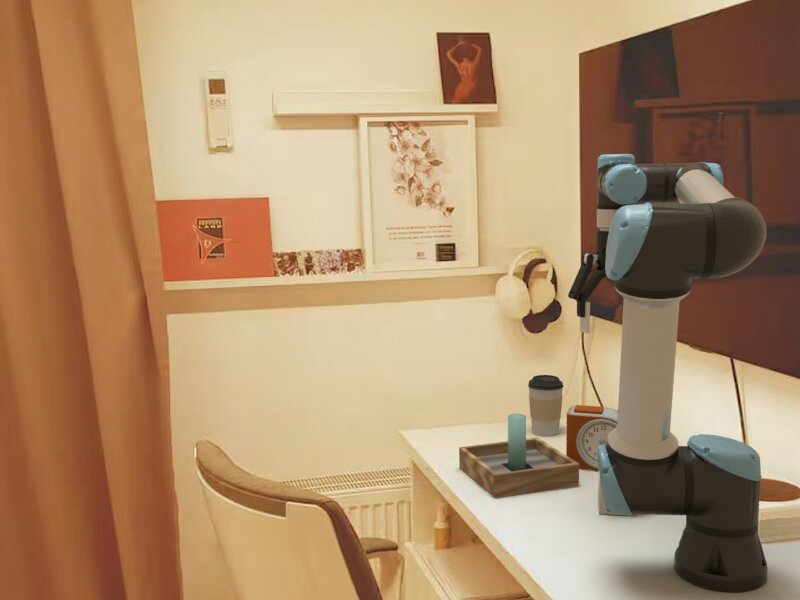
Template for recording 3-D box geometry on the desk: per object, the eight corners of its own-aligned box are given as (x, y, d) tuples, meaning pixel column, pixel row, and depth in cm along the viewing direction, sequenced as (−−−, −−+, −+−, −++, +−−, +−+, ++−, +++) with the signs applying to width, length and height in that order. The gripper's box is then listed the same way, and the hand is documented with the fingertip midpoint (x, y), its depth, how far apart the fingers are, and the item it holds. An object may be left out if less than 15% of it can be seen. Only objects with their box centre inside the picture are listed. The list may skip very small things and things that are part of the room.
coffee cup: (543, 425, 242) (544, 370, 240) (570, 432, 235) (570, 376, 233) (520, 432, 237) (520, 376, 234) (547, 440, 230) (547, 382, 227)
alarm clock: (564, 468, 209) (565, 411, 207) (570, 456, 217) (570, 401, 215) (630, 474, 204) (632, 416, 202) (633, 462, 212) (635, 406, 210)
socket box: (579, 485, 198) (579, 463, 197) (495, 498, 192) (494, 475, 191) (537, 457, 217) (537, 437, 216) (459, 468, 211) (459, 447, 210)
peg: (529, 478, 203) (529, 417, 201) (512, 480, 202) (512, 419, 200) (521, 472, 207) (521, 413, 205) (505, 474, 206) (505, 415, 203)
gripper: (656, 225, 195) (653, 322, 199) (552, 230, 188) (551, 331, 191) (677, 227, 188) (674, 328, 192) (570, 233, 181) (569, 337, 184)
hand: (613, 329), depth 191 cm, fingers open, 13 cm apart
